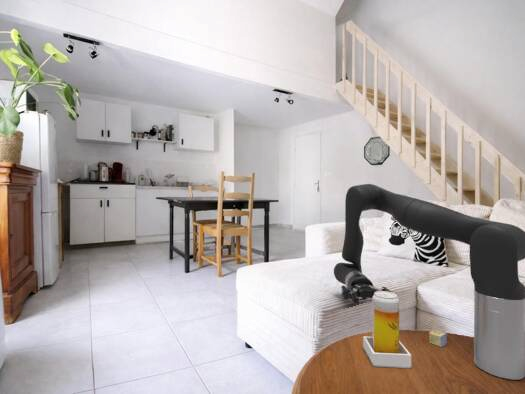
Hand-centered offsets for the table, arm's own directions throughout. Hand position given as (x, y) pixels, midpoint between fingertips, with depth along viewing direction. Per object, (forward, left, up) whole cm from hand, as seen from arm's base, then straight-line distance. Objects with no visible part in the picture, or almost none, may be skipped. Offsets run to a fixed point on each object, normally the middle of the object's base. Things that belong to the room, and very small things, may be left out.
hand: (373, 301), depth 83 cm
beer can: (0, +10, -10) cm, 14 cm away
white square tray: (0, +10, -10) cm, 14 cm away
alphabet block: (-17, +2, -10) cm, 20 cm away
